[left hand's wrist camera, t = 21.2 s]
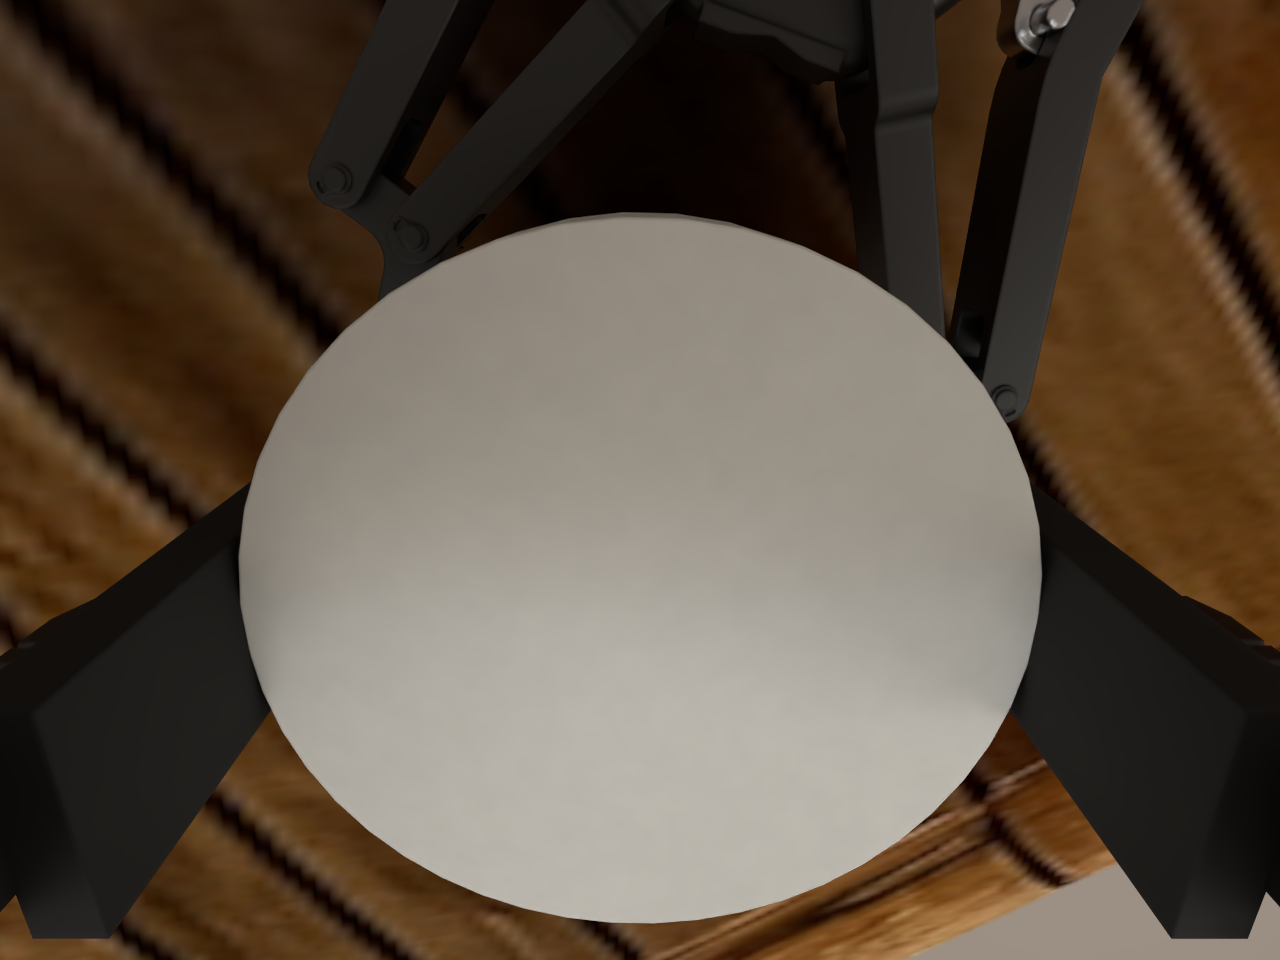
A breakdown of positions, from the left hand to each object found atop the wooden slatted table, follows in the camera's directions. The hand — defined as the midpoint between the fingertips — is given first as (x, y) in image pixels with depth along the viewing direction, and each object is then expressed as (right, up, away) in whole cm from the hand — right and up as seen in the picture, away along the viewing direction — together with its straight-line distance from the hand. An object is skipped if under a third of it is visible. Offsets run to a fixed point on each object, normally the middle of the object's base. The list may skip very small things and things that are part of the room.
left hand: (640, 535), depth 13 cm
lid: (0, -1, -3) cm, 3 cm away
